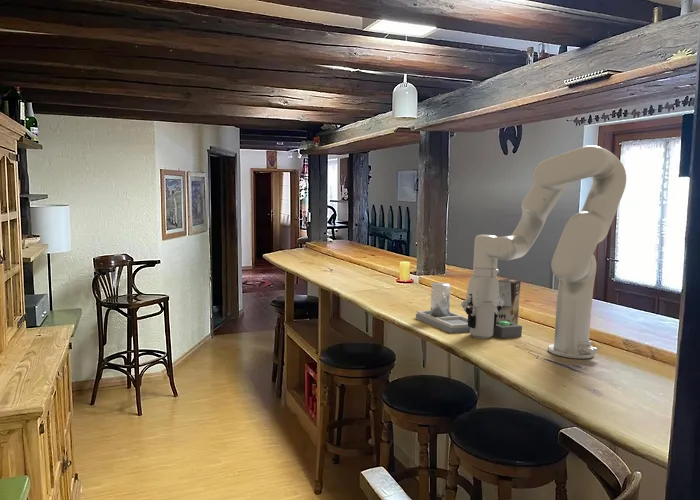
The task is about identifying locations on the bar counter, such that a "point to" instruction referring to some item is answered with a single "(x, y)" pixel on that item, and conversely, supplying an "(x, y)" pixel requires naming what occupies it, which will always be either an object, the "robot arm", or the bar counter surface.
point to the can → (484, 321)
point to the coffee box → (509, 300)
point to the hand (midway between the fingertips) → (481, 326)
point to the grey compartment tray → (445, 321)
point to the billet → (440, 299)
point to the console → (507, 330)
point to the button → (504, 323)
